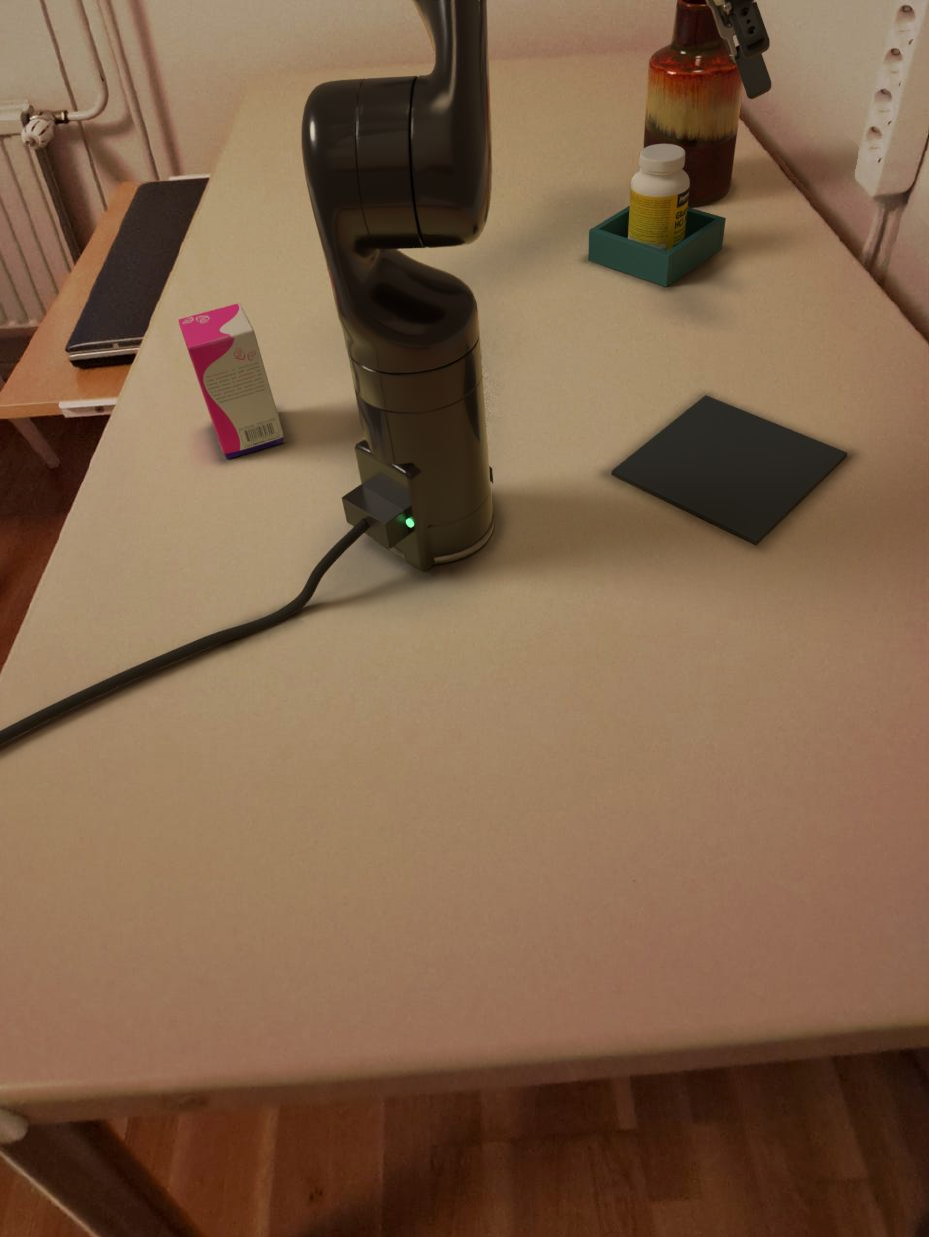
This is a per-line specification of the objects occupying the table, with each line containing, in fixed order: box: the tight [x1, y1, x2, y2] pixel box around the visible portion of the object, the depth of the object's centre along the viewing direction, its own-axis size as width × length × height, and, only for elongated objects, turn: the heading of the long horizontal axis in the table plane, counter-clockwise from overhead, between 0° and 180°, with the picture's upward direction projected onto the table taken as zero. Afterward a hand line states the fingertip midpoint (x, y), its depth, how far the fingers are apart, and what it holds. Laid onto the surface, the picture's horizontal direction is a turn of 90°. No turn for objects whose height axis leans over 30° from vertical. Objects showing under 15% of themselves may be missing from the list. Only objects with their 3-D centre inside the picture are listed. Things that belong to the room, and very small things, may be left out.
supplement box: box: [178, 302, 286, 460], centre depth 84 cm, size 6×6×12 cm
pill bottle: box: [628, 144, 690, 251], centre depth 101 cm, size 6×6×11 cm
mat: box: [610, 394, 848, 545], centre depth 79 cm, size 14×14×1 cm
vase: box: [642, 0, 744, 208], centre depth 109 cm, size 11×11×20 cm
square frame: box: [587, 205, 727, 288], centre depth 104 cm, size 11×11×4 cm
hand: (759, 74), depth 81 cm, fingers open, 8 cm apart
